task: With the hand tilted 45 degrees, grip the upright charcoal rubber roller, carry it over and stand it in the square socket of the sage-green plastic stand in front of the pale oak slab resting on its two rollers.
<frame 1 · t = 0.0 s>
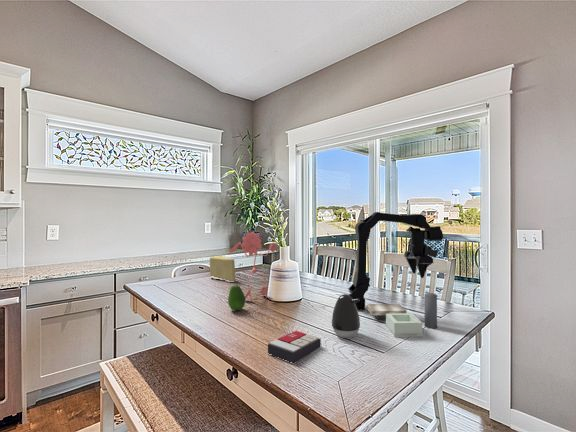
hand: (418, 275, 147), 15 cm above the table, tool pointing down, fingers open, 9 cm apart
red and grey box: (294, 351, 107), on the table
figurine: (252, 298, 168), on the table
roller: (430, 326, 124), on the table
cheese: (224, 280, 209), on the table
socket stand: (403, 331, 120), on the table
dark egg shaped device: (346, 336, 118), on the table
avocado: (237, 311, 148), on the table
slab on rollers: (386, 317, 135), on the table
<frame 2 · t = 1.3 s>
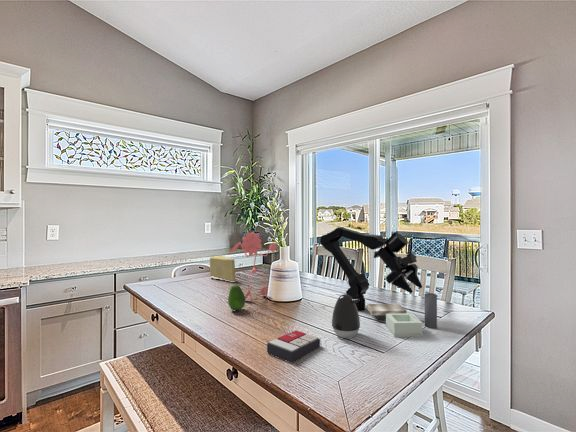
hand: (416, 290, 128), 13 cm above the table, tool tilted 45°, fingers open, 9 cm apart
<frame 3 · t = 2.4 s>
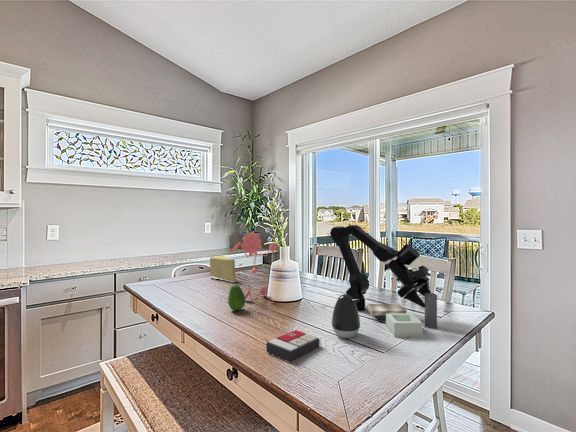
hand: (429, 304, 124), 9 cm above the table, tool tilted 45°, fingers open, 9 cm apart
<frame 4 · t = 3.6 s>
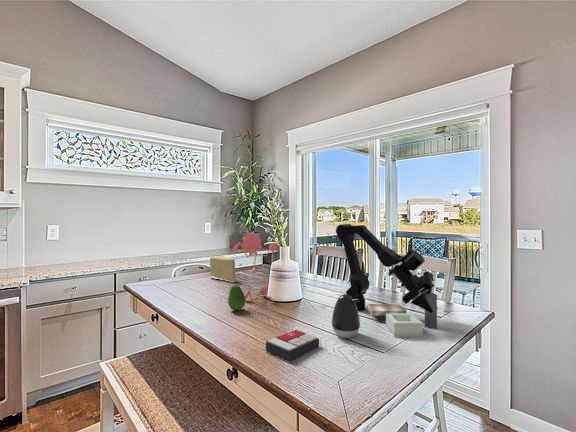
hand: (434, 310, 123), 7 cm above the table, tool tilted 45°, fingers closed on roller, 4 cm apart
roller: (430, 326, 124), on the table, touching gripper
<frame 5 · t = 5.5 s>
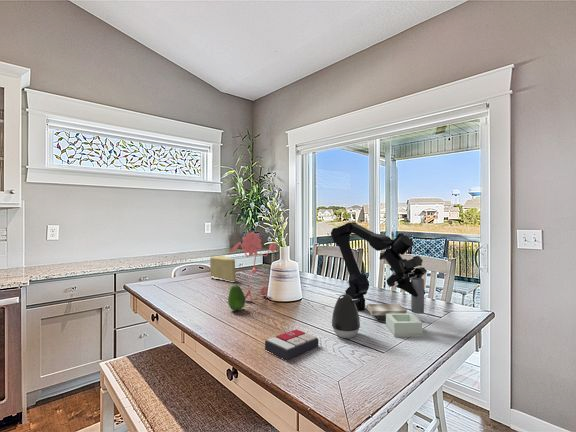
hand: (420, 295, 120), 13 cm above the table, tool tilted 45°, fingers closed on roller, 4 cm apart
roller: (417, 311, 122), point 7 cm above the table, touching gripper
when the fingers open (9 cm above the table, at t = 7.3 s): roller drops 1 cm, resting on socket stand.
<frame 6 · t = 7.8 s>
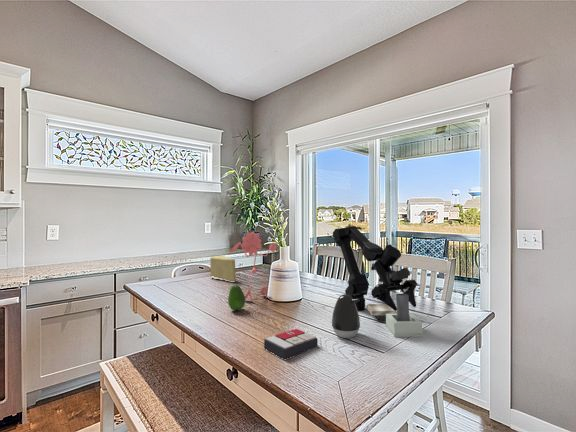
hand: (405, 308, 119), 9 cm above the table, tool tilted 45°, fingers open, 9 cm apart
roller: (403, 328, 120), point 1 cm above the table, touching socket stand
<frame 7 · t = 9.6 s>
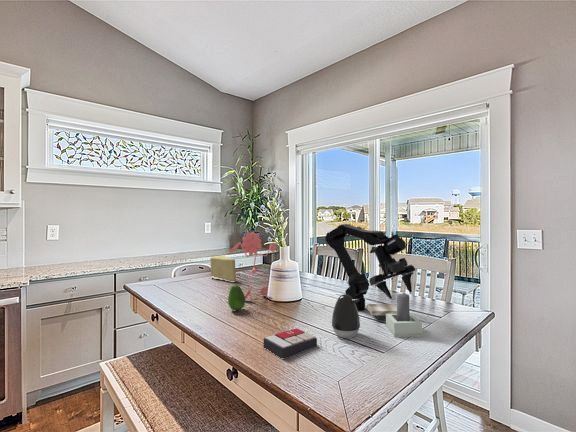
hand: (401, 295, 128), 11 cm above the table, tool tilted 30°, fingers open, 9 cm apart
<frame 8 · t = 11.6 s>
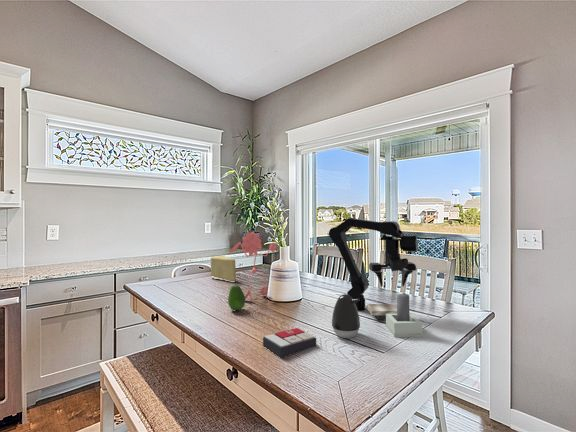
hand: (392, 286, 139), 12 cm above the table, tool pointing down, fingers open, 9 cm apart
at the end: roller 0.0 cm off-centre on the socket stand, point 1.0 cm above the socket stand's base; roller tilted 0°; the gripper is holding nothing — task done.
